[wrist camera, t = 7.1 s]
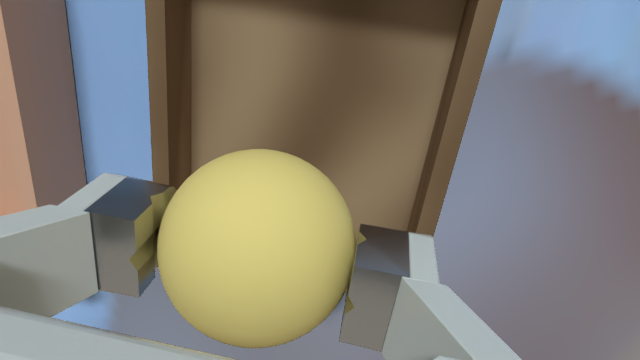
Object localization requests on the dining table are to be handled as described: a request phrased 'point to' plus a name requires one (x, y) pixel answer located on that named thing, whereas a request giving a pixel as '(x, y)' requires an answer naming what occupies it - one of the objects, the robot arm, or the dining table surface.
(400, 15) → the tray
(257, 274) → the ball
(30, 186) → the dish
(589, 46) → the dining table surface
